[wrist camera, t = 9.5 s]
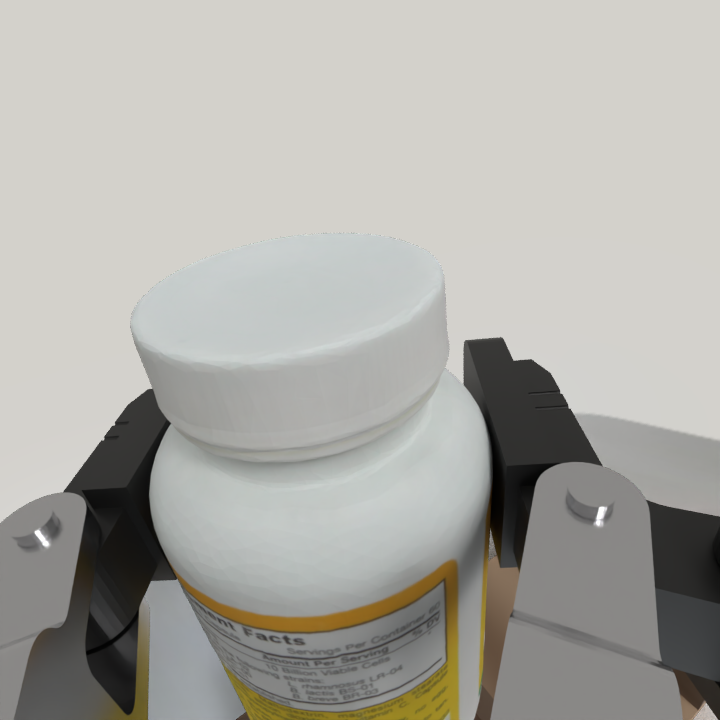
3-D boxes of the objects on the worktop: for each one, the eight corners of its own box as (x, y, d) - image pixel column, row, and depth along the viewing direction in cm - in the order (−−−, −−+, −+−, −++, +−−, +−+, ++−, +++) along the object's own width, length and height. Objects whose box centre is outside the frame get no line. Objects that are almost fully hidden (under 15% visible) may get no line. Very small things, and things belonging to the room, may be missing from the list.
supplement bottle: (394, 900, 8) (267, 512, 3) (205, 688, 11) (-17, 324, 6) (522, 629, 11) (571, 234, 6) (351, 527, 14) (290, 208, 9)
